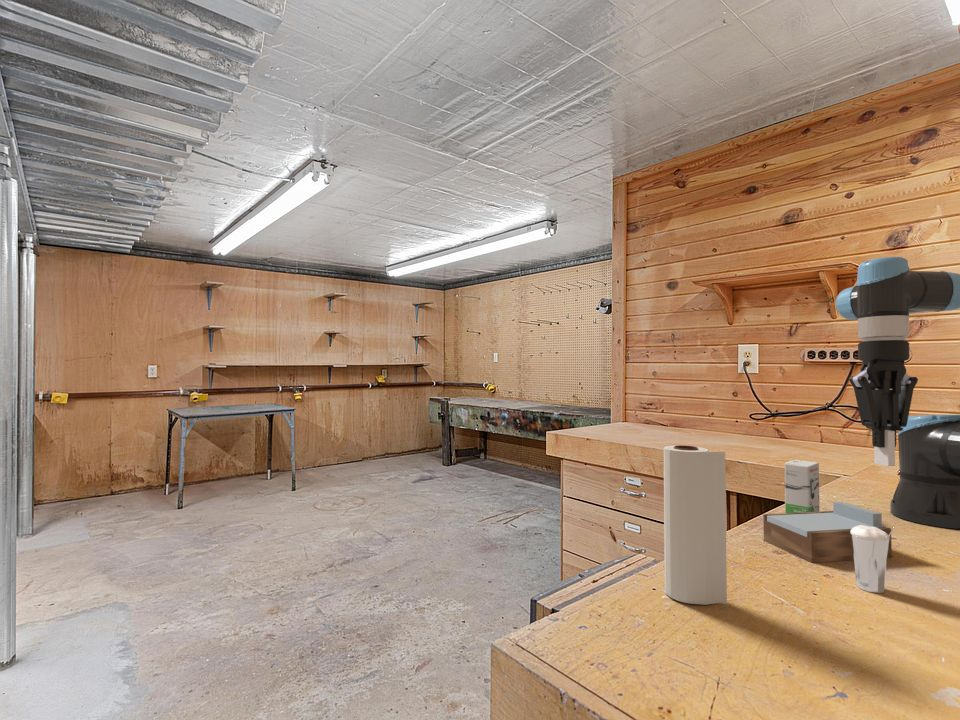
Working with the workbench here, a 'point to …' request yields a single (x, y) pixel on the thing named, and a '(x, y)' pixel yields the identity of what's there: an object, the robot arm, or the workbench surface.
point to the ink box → (801, 486)
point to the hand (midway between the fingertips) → (884, 464)
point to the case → (814, 542)
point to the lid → (829, 519)
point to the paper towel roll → (695, 525)
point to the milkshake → (870, 557)
